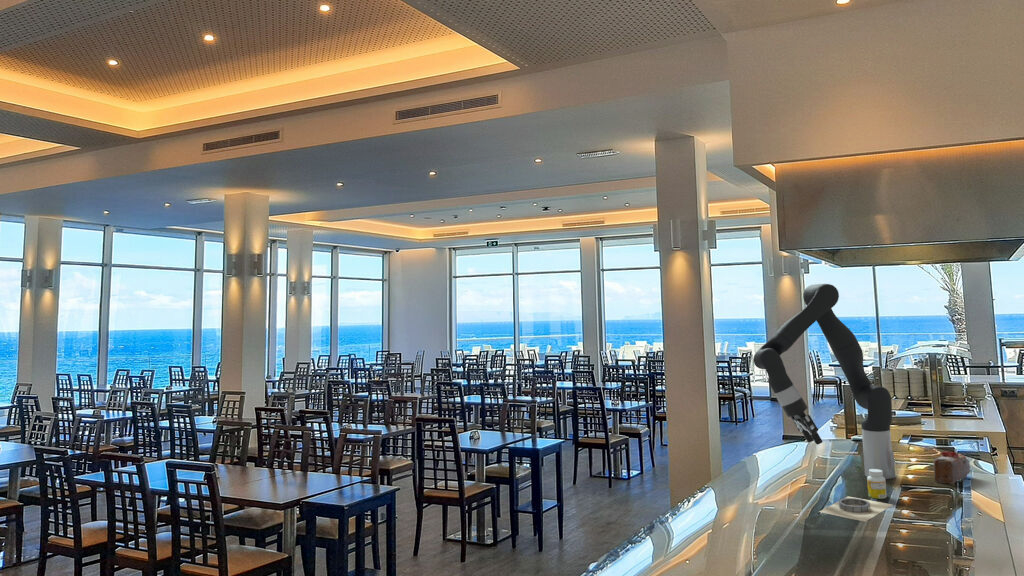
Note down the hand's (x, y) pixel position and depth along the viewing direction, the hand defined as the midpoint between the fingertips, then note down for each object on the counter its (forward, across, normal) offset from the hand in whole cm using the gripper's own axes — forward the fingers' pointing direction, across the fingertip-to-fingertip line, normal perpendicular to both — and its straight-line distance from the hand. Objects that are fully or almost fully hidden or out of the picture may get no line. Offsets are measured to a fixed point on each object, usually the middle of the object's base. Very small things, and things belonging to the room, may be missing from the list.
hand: (815, 442), depth 232 cm
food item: (+34, +9, -37) cm, 51 cm away
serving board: (+19, -20, +5) cm, 29 cm away
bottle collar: (+18, -21, +5) cm, 28 cm away
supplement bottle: (+23, -10, -6) cm, 25 cm away
